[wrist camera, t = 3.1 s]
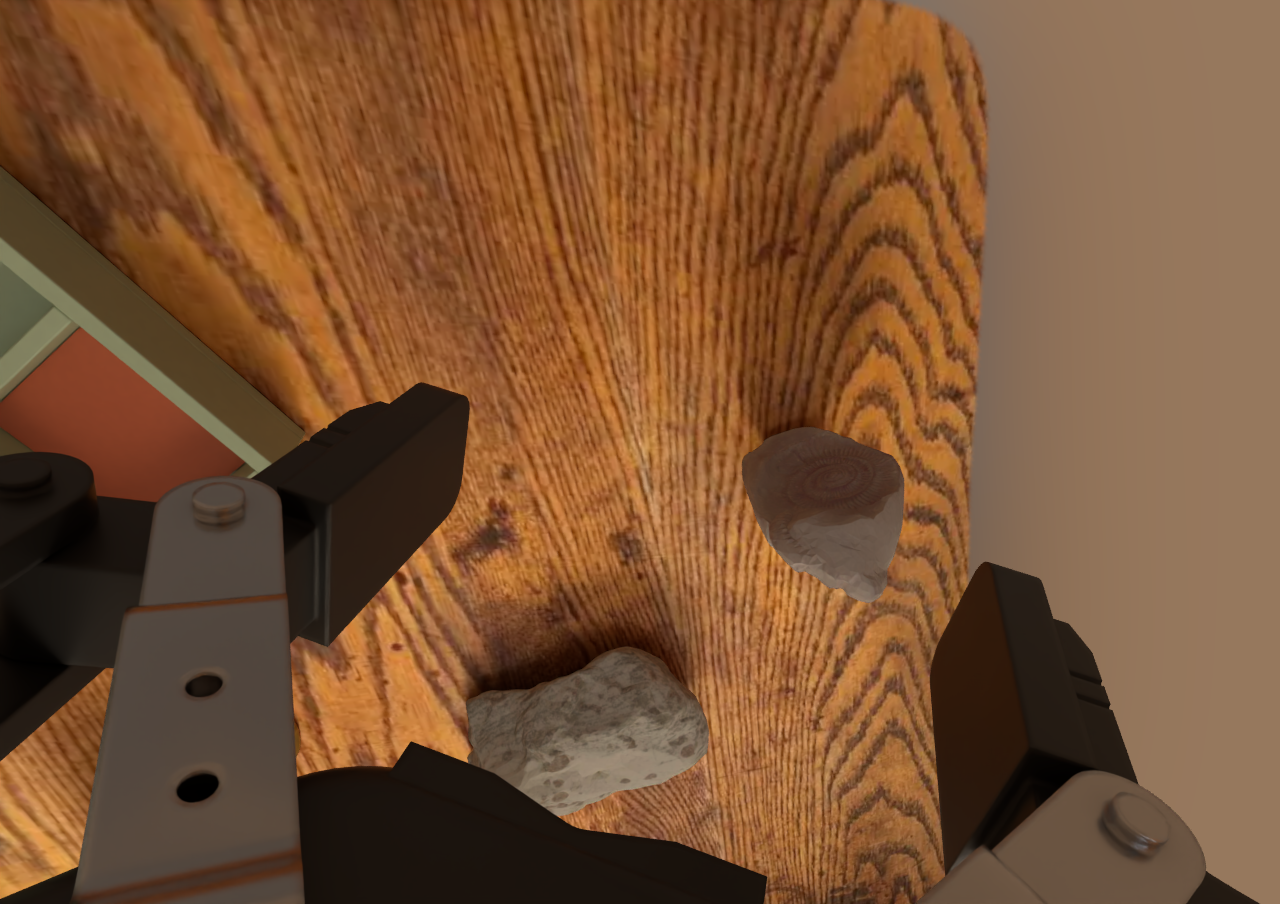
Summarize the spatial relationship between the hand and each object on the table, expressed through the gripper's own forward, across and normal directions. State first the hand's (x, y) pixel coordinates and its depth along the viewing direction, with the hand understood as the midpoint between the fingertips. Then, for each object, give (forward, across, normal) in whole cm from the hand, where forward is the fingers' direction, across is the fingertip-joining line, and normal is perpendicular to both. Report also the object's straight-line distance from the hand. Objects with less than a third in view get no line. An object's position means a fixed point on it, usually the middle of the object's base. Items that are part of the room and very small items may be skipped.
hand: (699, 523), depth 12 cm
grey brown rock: (+22, -2, +9) cm, 24 cm away
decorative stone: (+19, +4, +25) cm, 32 cm away
